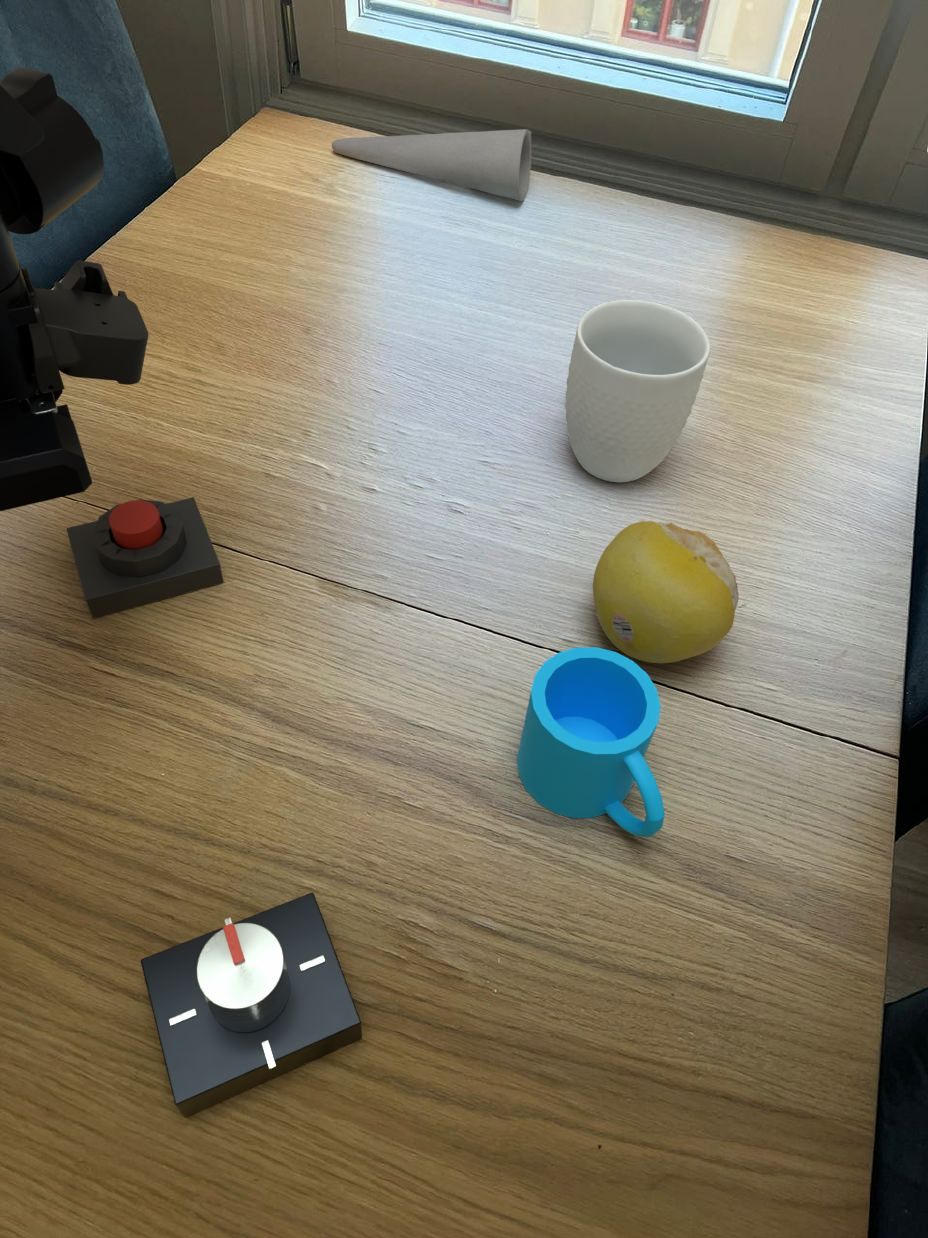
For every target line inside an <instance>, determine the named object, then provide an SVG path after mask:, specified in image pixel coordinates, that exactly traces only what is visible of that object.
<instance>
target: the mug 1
mask: <svg viewBox="0 0 928 1238" xmlns="http://www.w3.org/2000/svg"><path fill="white" fill-rule="evenodd" d="M577 324H578V325H577V327H576V331H575V337H574V342H573V347H572V350H571V355H570V362H569V365H568V375H567V379H566V391H565V403H564V408H565V421H566V430H567V435H568V436H567V437H568V441H569V443H570V447H571V449H572V452H573V454H574V456H575V458H576V460H577V461H578V463H579V465H580V466H581V467H582V468H583V469H584V470H585V471H586V472H587V473H589V474H590V475H591V476H593V477H595V478H597V479H600V480H602V481H606V482H611V483H628V482H633V481H637V480H639V479H641V478H643V477H644V476H646V475H647V474H649V473H650V472H652V471H653V470H654V469H656V468H658V466H659V464H661V463H662V462H663V461H664V460H665V457H667V456H668V455H669V453H670V452H671V450H672V449H673V447H674V446H675V444H676V443H677V440H678V439H679V438H680V436H681V435H682V432H683V430H684V428H685V427H686V425H687V422H688V419H689V417H690V415H691V414H692V409H693V406H694V405H695V402H696V398H697V394H698V393H699V391H700V387H701V382H702V381H703V378H704V373H705V370H706V366H707V363H708V360H709V357H710V354H711V343H710V339H709V335H708V334H707V333H706V331H705V330H704V329H703V327H702V326H701V325H700V324H699V323H698V322H697V321H695V319H694V318H692V317H691V316H689V315H688V314H687V313H684V312H683V311H680V310H678V309H676V308H674V307H671V306H669V305H666V304H662V303H658V302H654V301H650V300H643V299H617V300H611V301H606V302H603V303H600V304H598V305H595V306H593V307H592V308H590V309H588V310H587V311H586V312H584V314H583V315H582V316H581V318H580V319H579V321H578V323H577Z"/></svg>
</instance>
